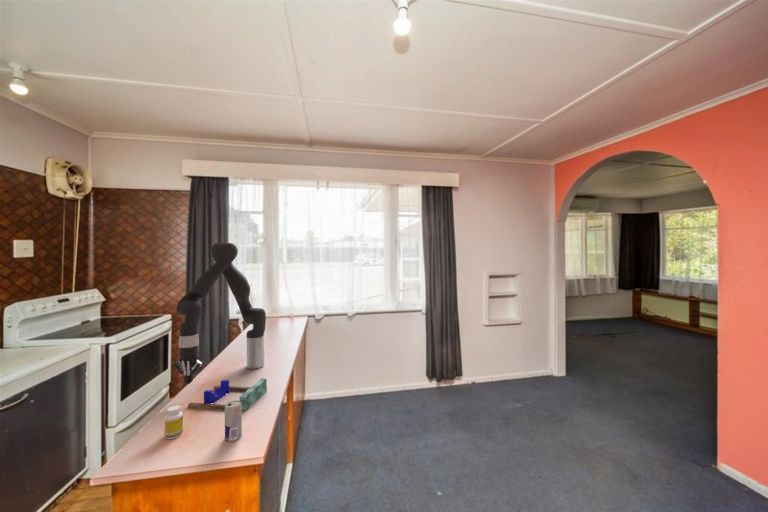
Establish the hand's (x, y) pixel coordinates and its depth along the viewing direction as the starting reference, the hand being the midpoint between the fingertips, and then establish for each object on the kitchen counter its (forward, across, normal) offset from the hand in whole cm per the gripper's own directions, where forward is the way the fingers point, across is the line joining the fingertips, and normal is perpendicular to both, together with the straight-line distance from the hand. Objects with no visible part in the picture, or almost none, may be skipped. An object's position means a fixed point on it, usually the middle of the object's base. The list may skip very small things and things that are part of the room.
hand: (188, 382), depth 137 cm
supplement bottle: (+7, -16, +27) cm, 32 cm away
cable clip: (+7, -13, 0) cm, 14 cm away
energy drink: (+7, -38, +26) cm, 46 cm away
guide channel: (+6, -18, 0) cm, 20 cm away
